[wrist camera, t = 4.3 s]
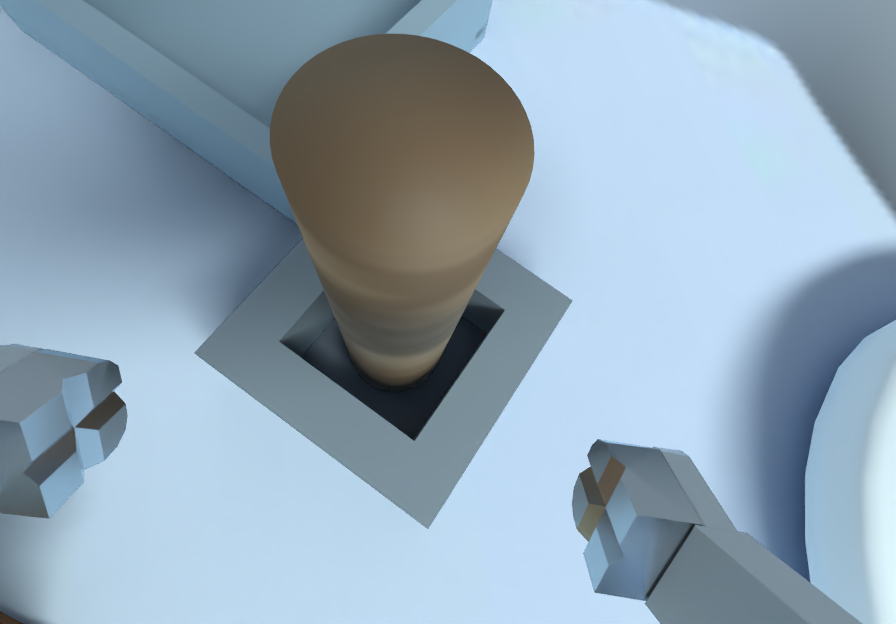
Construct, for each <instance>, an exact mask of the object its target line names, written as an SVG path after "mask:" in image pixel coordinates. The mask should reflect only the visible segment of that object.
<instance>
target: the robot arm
mask: <svg viewBox="0 0 896 624" xmlns="http://www.w3.org/2000/svg"><path fill="white" fill-rule="evenodd" d="M121 383H122V380H121V376H120V371H119V367H118V365H116V364H114V363H113V362H111V361H109V360H104V359H98V358H93V357H87V356H82V355H76V354H71V353H66V352H60V351H55V350H49V349H46V350H45V349H41V348H36V347H30V346H24V345H19V344H10V345H1V346H0V513H3V514H13V515H22V516H31V517H40V518H50V517H51V516H52V515H53V514H54V513H55V512H56V511H57V510H58V509H59V508H60V507H61V506H62V505H63V504H64V503H65V502H66V500H67V499H68V498H69V497H70V496H71V495H72V494H73V493H74V492H75V491H76V490H77V489H78V488H79V487H80V486H81V485H82V484H83V483H84V470H85V469H87V468H89V467H91V466H93V465H96V464H98V463H100V462H102V461H104V460H105V459H106V458H107V457H108V456H109V455H110V454H111V453H112V452H113V451H114V449H115V448H116V447H117V446H118V444H119V442H120V440H121V438H122V436H123V434H124V432H125V429H126V422H127V410H126V404H125V403H124V402H123V401H122V400H121V398H120V397H119V396H118V395H117V394H116V393H115V392H114V391H115V390H116V389H117V388H118V387H119V385H120V384H121ZM587 456H588V459H589V462H590V465H591V467H589V468H588V469H586V470H585V471H583V472H582V473H580V474H579V476H578V478H577V481H576V484H575V486H574V491H573V500H572V507H573V517H574V520H575V524H576V528H577V530H578V531H579V532H580V533H581V534H582V535H583V536H584V538H585V539H586V540H587V541H588V545H587V547H586V549H585V551H584V553H583V554H584V557H585V561H586V564H587V568H588V572H589V575H590V579H591V582H592V586H593V589H594V592H595V593H601V594H607V595H613V596H619V597H625V598H631V599H637V600H643V601H646V603H645V604H646V606H647V607H648V608H649V610H650V611H651V612H652V613H653V615H654V616H655V617H656V619H657V620H658V621H659V622H660V624H862V623H861V622H860V621H859V620H857V619H856V618H855V617H853V616H852V615H851V614H850V613H848V612H847V611H846V610H844V609H843V608H842V607H841V606H839V605H838V604H837V603H836V602H834V601H833V600H832V599H830V598H829V597H828V596H827V595H825V594H824V593H823V592H822V591H820V590H819V589H818V588H816V587H815V586H814V585H813V584H811V583H810V582H809V581H807V580H806V579H805V578H804V577H802V576H801V575H800V574H799V573H797V572H796V571H795V570H793V569H792V568H791V567H790V566H788V565H787V564H786V563H784V562H783V561H782V560H781V559H779V558H778V557H777V556H776V555H774V554H773V553H772V552H770V551H769V550H768V549H767V548H765V547H764V546H763V545H762V544H760V543H759V542H758V541H756V540H755V539H754V538H753V537H751V536H750V535H749V534H747V533H744V532H738V531H737V530H736V529H735V527H734V525H733V524H732V522H731V521H730V519H729V518H728V516H727V515H726V513H725V511H724V510H723V508H722V507H721V505H720V504H719V502H718V500H717V499H716V497H715V496H714V494H713V493H712V491H711V490H710V488H709V486H708V485H707V483H706V482H705V480H704V479H703V477H702V476H701V474H700V472H699V471H698V469H697V468H696V466H695V465H694V463H693V462H692V460H691V458H690V457H689V456H688V455H687V454H685V453H684V452H683V451H680V450H672V449H665V448H658V447H653V448H651V447H646V446H639V445H633V444H626V443H620V442H613V441H607V440H600V439H598V440H597V441H596V442H595V443H594V444H593V445H592V447H591V449H590V451H589V453H588V455H587Z"/></svg>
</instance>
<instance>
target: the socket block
mask: <svg viewBox="0 0 896 624" xmlns="http://www.w3.org/2000/svg"><path fill="white" fill-rule="evenodd" d="M571 302H572V300H571V299H569V298H568V297H567V296H565V295H564V294H562V293H561V292H559V291H558V290H556V289H555V288H553V287H552V286H550V285H549V284H547V283H546V282H545V281H543V280H542V279H540V278H539V277H537V276H536V275H534V274H533V273H531V272H530V271H528V270H527V269H525V268H524V267H522V266H521V265H520V264H518V263H517V262H515V261H514V260H512V259H511V258H509V257H508V256H506V255H505V254H503V253H502V252H500V251H499V250H498V249H495V251H494V253H493V255H492V257H491V259H490V261H489V263H488V265H487V267H486V269H485V271H484V273H483V275H482V277H481V279H480V281H479V283H478V285H477V287H476V289H475V290H474V292H473V294H472V296H471V298H470V300H469V302H468V304H467V306H466V308H465V310H464V312H463V314H462V316H463V317H464V318H466V319H467V320H469V321H470V322H472V323H473V324H474V325H476V326H477V327H479V328H480V329H482V330H483V331H484V332H486V333H487V334H486V335H485V337H484V338H483V339H482V341H481V342H480V344H479V345H478V347H477V348H476V350H475V351H474V352H473V354H472V355H471V357H470V358H469V360H468V361H467V363H466V364H465V365H464V367H463V368H462V370H461V371H460V373H459V374H458V376H457V377H456V378H455V380H454V381H453V383H452V384H451V386H450V387H449V389H448V390H447V391H446V393H445V394H444V396H443V397H442V399H441V400H440V402H439V403H438V404H437V406H436V407H435V409H434V410H433V412H432V413H431V415H430V416H429V417H428V419H427V420H426V422H425V423H424V425H423V426H422V428H421V429H420V430H419V432H418V433H417V435H416V436H415V438H414V439H413V440H412V439H411V438H410V437H408V436H407V435H406V434H404V433H403V432H401V431H400V430H399V429H397V428H396V427H395V426H393V425H392V424H391V423H389V422H388V421H386V420H385V419H384V418H382V417H381V416H380V415H378V414H377V413H376V412H374V411H373V410H372V409H370V408H369V407H367V406H366V405H365V404H363V403H362V402H361V401H359V400H358V399H357V398H355V397H354V396H352V395H351V394H350V393H348V392H347V391H346V390H344V389H343V388H342V387H340V386H339V385H338V384H336V383H335V382H333V381H332V380H331V379H329V378H328V377H327V376H325V375H324V374H323V373H321V372H320V371H318V370H317V369H316V368H314V367H313V366H312V365H310V364H309V363H308V362H306V361H305V360H304V359H302V358H301V357H302V356H303V354H304V353H305V352H306V351H307V350H308V348H309V347H310V346H311V345H312V344H313V342H314V341H315V340H316V339H317V338H318V337H319V335H320V334H321V333H322V332H323V331H324V329H325V328H326V327H327V326H328V325H329V324H330V322H331V321H332V320H333V319H334V318H335V317H334V314H333V312H332V309H331V307H330V304H329V302H328V299H327V297H326V294H325V292H324V289H323V287H322V284H321V282H320V279H319V277H318V275H317V272H316V270H315V267H314V265H313V262H312V260H311V257H310V255H309V252H308V250H307V247H306V245H305V242H304V240H303V238H302V239H301V240H300V241H299V242H298V244H297V245H296V246H295V247H294V248H293V249H292V250H291V251H290V252H289V253H288V254H287V255H286V256H285V257H284V258H283V259H282V260H281V262H280V263H279V264H278V265H277V266H276V267H275V268H274V269H273V270H272V271H271V272H270V273H269V274H268V275H267V276H266V277H265V278H264V280H263V281H262V282H261V283H260V284H259V285H258V286H257V287H256V288H255V289H254V290H253V291H252V292H251V293H250V294H249V295H248V297H247V298H246V299H245V300H244V301H243V302H242V303H241V304H240V305H239V306H238V307H237V308H236V309H235V310H234V311H233V312H232V313H231V315H230V316H229V317H228V318H227V319H226V320H225V321H224V322H223V323H222V324H221V325H220V326H219V327H218V328H217V329H216V330H215V331H214V333H213V334H212V335H211V336H210V337H209V338H208V339H207V340H206V341H205V342H204V343H203V344H202V345H201V346H200V347H199V348H198V350H197V351H196V352H195V354H196V355H197V356H199V357H200V358H201V359H203V360H204V361H205V362H207V363H208V364H209V365H211V366H212V367H213V368H215V369H216V370H217V371H219V372H220V373H221V374H223V375H224V376H225V377H227V378H228V379H229V380H231V381H232V382H233V383H235V384H236V385H237V386H238V387H240V388H241V389H242V390H244V391H245V392H246V393H248V394H249V395H250V396H252V397H253V398H254V399H256V400H257V401H258V402H260V403H261V404H262V405H264V406H265V407H266V408H268V409H269V410H270V411H272V412H273V413H274V414H276V415H277V416H278V417H280V418H281V419H282V420H284V421H285V422H286V423H288V424H289V425H290V426H292V427H293V428H294V429H296V430H297V431H298V432H300V433H301V434H302V435H304V436H305V437H306V438H308V439H309V440H310V441H312V442H313V443H314V444H316V445H317V446H318V447H320V448H321V449H322V450H324V451H325V452H326V453H328V454H329V455H330V456H332V457H333V458H334V459H336V460H337V461H338V462H340V463H341V464H342V465H344V466H345V467H346V468H347V469H349V470H350V471H351V472H353V473H354V474H355V475H357V476H358V477H359V478H361V479H362V480H363V481H365V482H366V483H367V484H369V485H370V486H371V487H373V488H374V489H375V490H377V491H378V492H379V493H381V494H382V495H383V496H385V497H386V498H387V499H389V500H390V501H391V502H393V503H394V504H395V505H397V506H398V507H399V508H401V509H402V510H403V511H405V512H406V513H407V514H409V515H410V516H411V517H413V518H414V519H415V520H417V521H418V522H419V523H421V524H422V525H423V526H425V527H426V528H427V529H428V528H429V527H430V525H431V524H432V522H433V520H434V519H435V517H436V516H437V514H438V512H439V511H440V509H441V508H442V506H443V505H444V503H445V501H446V500H447V498H448V497H449V495H450V494H451V492H452V490H453V489H454V487H455V486H456V484H457V482H458V481H459V479H460V478H461V476H462V475H463V473H464V471H465V470H466V468H467V467H468V465H469V463H470V462H471V460H472V459H473V457H474V456H475V454H476V452H477V451H478V449H479V448H480V446H481V445H482V443H483V441H484V440H485V438H486V437H487V435H488V433H489V432H490V430H491V429H492V427H493V426H494V424H495V422H496V421H497V419H498V418H499V416H500V415H501V413H502V411H503V410H504V408H505V407H506V405H507V403H508V402H509V400H510V399H511V397H512V396H513V394H514V392H515V391H516V389H517V388H518V386H519V384H520V383H521V381H522V380H523V378H524V377H525V375H526V373H527V372H528V370H529V369H530V367H531V366H532V364H533V362H534V361H535V359H536V358H537V356H538V354H539V353H540V351H541V350H542V348H543V347H544V345H545V343H546V342H547V340H548V339H549V337H550V335H551V334H552V332H553V331H554V329H555V328H556V326H557V324H558V323H559V321H560V320H561V318H562V317H563V315H564V313H565V312H566V310H567V309H568V307H569V305H570V304H571Z"/></svg>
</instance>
